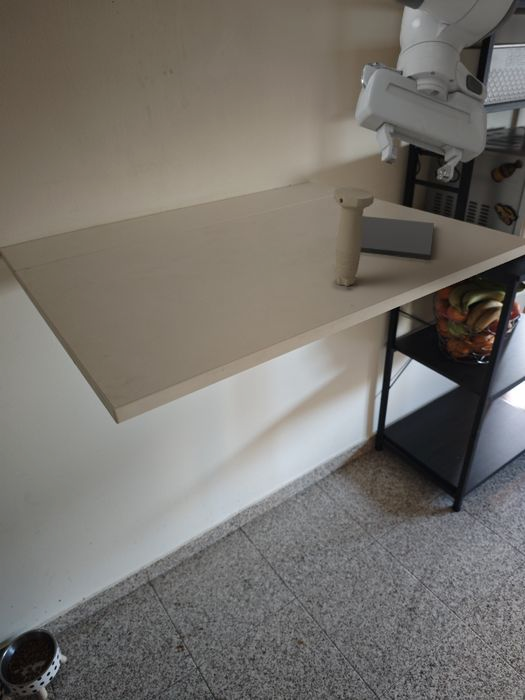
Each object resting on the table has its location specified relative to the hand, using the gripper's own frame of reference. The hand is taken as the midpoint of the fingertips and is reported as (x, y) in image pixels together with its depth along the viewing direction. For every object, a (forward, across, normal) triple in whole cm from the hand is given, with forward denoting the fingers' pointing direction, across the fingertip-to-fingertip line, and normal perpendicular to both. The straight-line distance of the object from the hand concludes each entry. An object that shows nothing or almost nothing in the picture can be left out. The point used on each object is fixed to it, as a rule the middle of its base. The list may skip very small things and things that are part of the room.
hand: (417, 170), depth 71 cm
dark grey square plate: (-2, +13, +27) cm, 30 cm away
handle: (+14, -1, +16) cm, 21 cm away
